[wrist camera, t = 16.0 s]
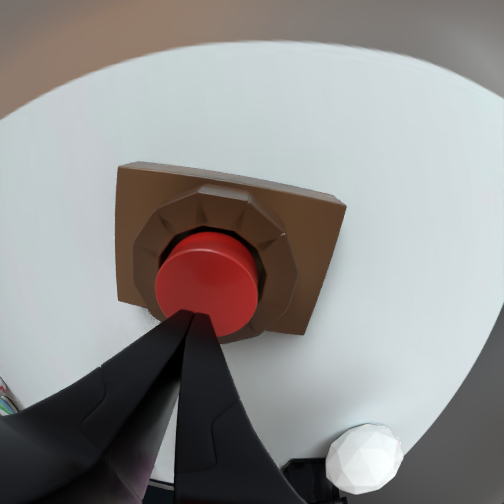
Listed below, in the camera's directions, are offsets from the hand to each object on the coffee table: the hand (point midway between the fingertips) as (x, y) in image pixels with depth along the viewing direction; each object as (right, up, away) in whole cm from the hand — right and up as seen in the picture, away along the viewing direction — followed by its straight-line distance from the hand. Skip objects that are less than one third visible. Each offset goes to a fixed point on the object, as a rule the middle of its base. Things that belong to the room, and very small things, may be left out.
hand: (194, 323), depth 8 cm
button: (0, +1, +3) cm, 3 cm away
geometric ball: (+13, -16, +14) cm, 25 cm away
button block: (0, +3, +6) cm, 7 cm away
